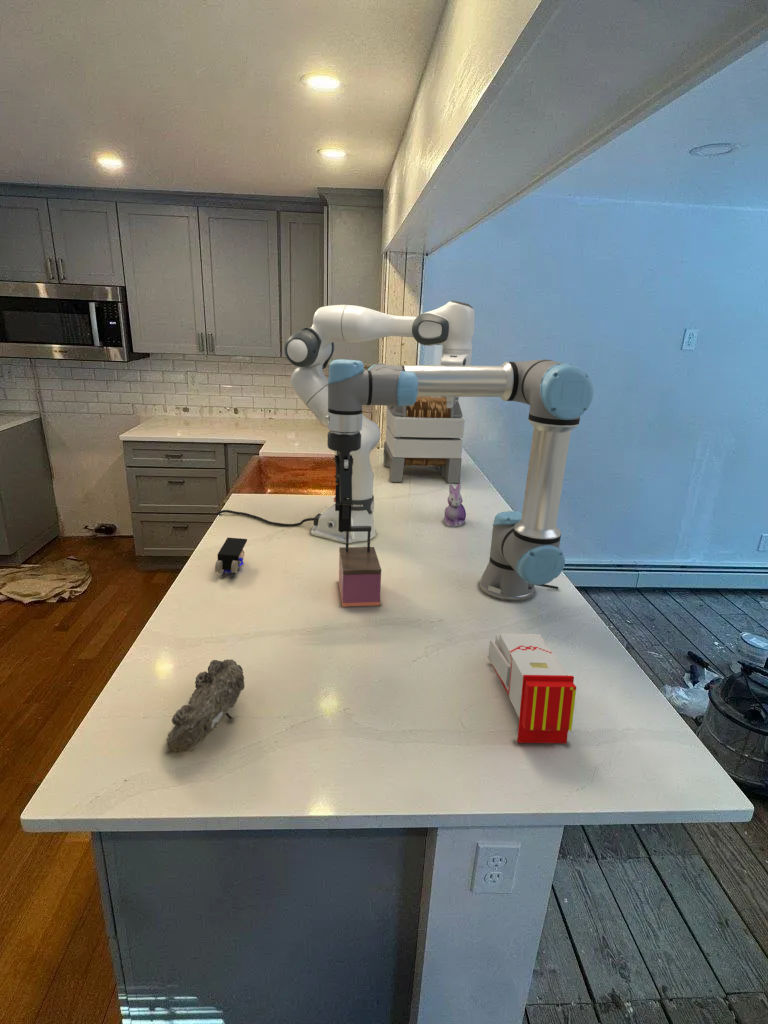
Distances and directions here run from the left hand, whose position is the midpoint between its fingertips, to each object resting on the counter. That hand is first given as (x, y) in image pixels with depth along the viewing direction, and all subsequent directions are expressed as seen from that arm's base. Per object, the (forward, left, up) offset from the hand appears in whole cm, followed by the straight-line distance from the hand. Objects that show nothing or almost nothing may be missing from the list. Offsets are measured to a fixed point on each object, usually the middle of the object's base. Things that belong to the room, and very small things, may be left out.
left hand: (452, 405), depth 174 cm
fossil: (-26, -97, -48) cm, 111 cm away
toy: (+31, -71, -48) cm, 91 cm away
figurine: (+1, +25, -48) cm, 53 cm away
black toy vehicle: (-55, -40, -48) cm, 83 cm away
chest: (-16, -41, -48) cm, 64 cm away
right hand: (-15, -56, -20) cm, 61 cm away
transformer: (-26, +86, -48) cm, 102 cm away
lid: (-16, -40, -38) cm, 58 cm away
